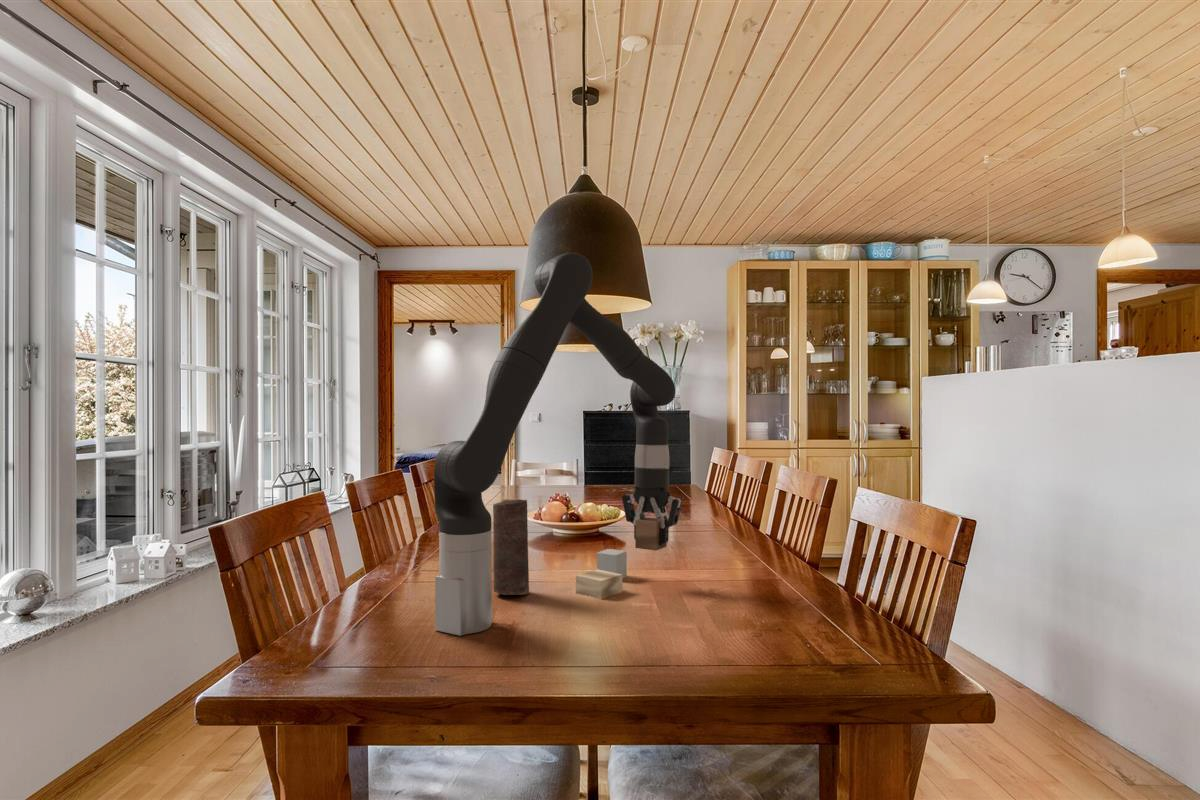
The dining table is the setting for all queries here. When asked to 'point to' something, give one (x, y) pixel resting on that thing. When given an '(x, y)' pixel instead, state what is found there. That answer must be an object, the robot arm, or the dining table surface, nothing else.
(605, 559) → the grey block
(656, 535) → the walnut block
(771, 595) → the dining table surface
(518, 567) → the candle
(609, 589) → the maple base
